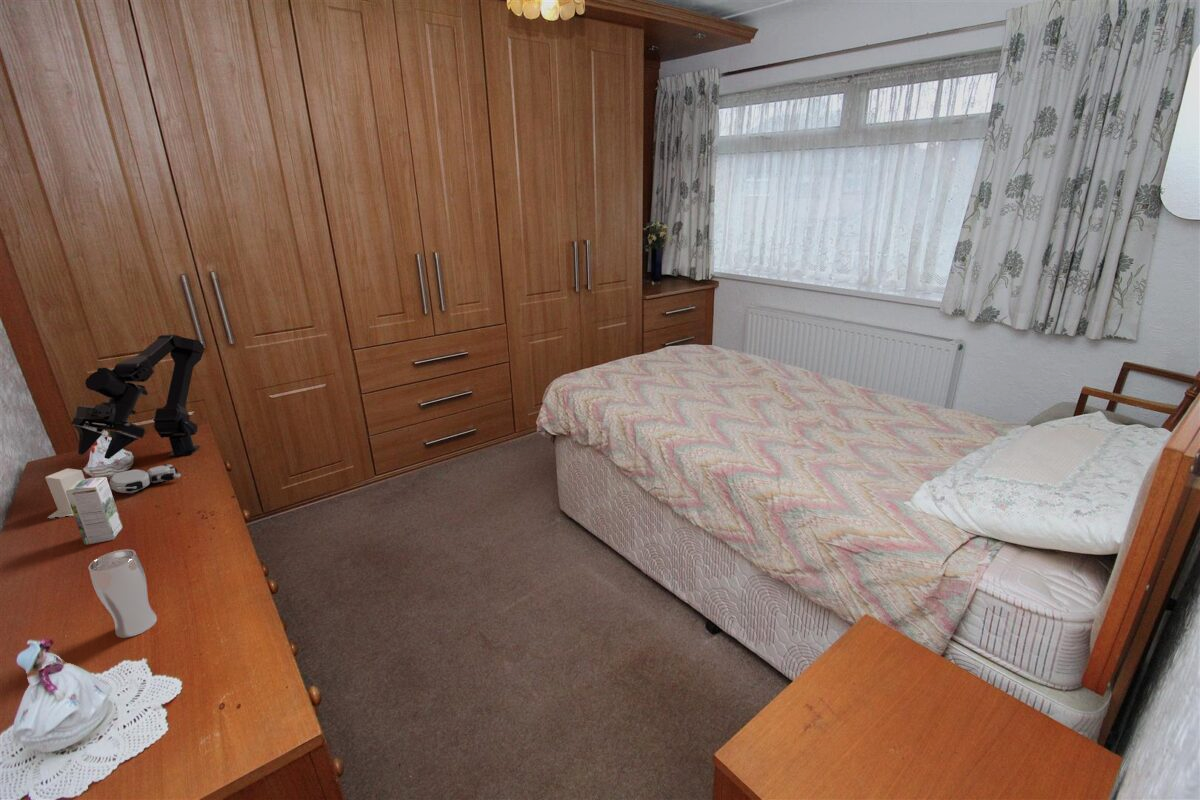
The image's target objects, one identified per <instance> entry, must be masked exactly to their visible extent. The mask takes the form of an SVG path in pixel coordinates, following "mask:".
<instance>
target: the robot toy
mask: <svg viewBox="0 0 1200 800" xmlns="http://www.w3.org/2000/svg"><path fill="white" fill-rule="evenodd" d="M107 476H110V479H109V484H110V485H109V486H110V490H113V491H114V492H118V493H121V494H122V493H123V494H135V492H136V493H137V492H139V491H140V490H144V489H146V487H148V486H149V485H150V483H153V484H155V483H164V482H163V481H166V482H168V481H174V480H175V479H179V478H181V476H182V474H181V473H178V469H177V468H176V467H175V466H173V464H162V465H158V466H154V467H151V468H149V469H147V471H145V470H141V469H130V470H126V471H125V470H124V471H121V472H117V473H115V474H107ZM167 480H168V481H167Z"/></svg>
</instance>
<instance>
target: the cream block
mask: <svg viewBox="0 0 1200 800" xmlns="http://www.w3.org/2000/svg"><path fill="white" fill-rule="evenodd" d="M84 479H86V478H85V476H84V473H83V470H81V469H75V468H67V467H66V468H64V469H62V470H60V471H57V472H54V473H52V474H49V475H47V476H45V481H46V483H47V485H48V488H49V491H50V493H51V496H52V498H53V500H54V503H55V506H56V508H57V510H58V511H60V512H67V513H73V511H72V509H71V506H70V503H69V500H68V497H67V495H66V491H67V490H68V489H69V488H70V487H71V486H73V485H74V484H75V483H76V482H77V481H79V480H84Z"/></svg>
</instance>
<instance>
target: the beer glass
mask: <svg viewBox="0 0 1200 800" xmlns="http://www.w3.org/2000/svg"><path fill="white" fill-rule="evenodd" d="M88 571H89V576H90V579H91V580H90V581H91V583H92V586H93V588H94V591H95V594H96V595H97V598H98V599H99V600H100V602H101V603H102V604H103V606H104V607H105V608H106V610H107V611H108V613H109V614H110V615H111V617H112V619H113V623H114V629H115V631H114V632H115V635H116V637H118V638H121V639H127V638H132V637H136V636H138V635H140V634H141V635H142V634H143V633H145V632H147V631H148V630H149V629H151V628H153V626H154V625H155V624H156V623H157V620H158V617H157V614H156V613H155V612H154V611H153V609H152V606H151V605H150V602H149V597H148V584H147V578H146V577H147V576H146V574H145V570H144V567H143V565H142V563H141V561H140V559H139V557H138V555H137V553H136V551H135V550H133V549H130V548H126V549H120V550H119V549H118V550H114V551H112V552H111V551H110V552H108V553H106V554H103V555H101V556H99V557H97V558H95V559H94V560H93V561H91V562H90V564H89V565H88Z"/></svg>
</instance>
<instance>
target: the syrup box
mask: <svg viewBox="0 0 1200 800" xmlns="http://www.w3.org/2000/svg"><path fill="white" fill-rule="evenodd" d="M109 484H110V483H109V482H108V479H107V477H106V476H105V477H104V476H102V477H90V478H85V479H84V480H79V481H77V482H76V483H75V484H74V485H73V486H71V487H70V488H69V489H68V490H67V491H66V495H67V497H68V500H69V503H70V506H71V509H72V511H73V514H74V516H73V517H74V519H75V522H76V525H77V528H78V531H79V534H80V537H81V539H82V542H83V544H84V545H86V546H87V545H93V544H99V543H103V542H108V541H113V540H115V539H116V537H118V534H119V533H120V532H121V531H122V530H123V528H124V526H123V523H122V520H121V518H120V514H119V511H118V508H117V505H116V502H115V499H114V496H113V494H112V493H113V492H112V489H111V486H110V485H109Z"/></svg>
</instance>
